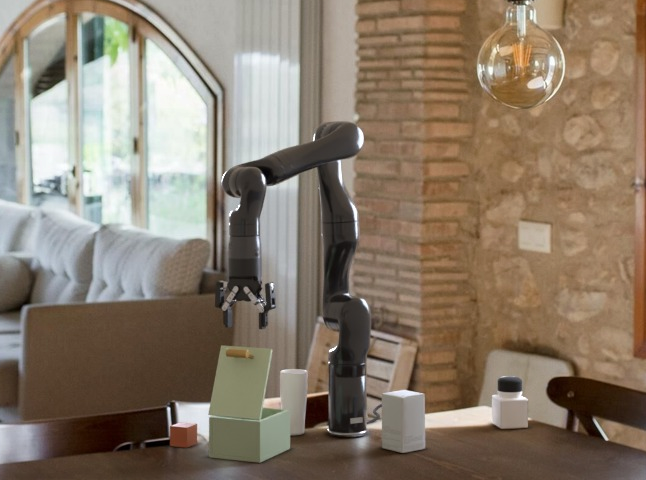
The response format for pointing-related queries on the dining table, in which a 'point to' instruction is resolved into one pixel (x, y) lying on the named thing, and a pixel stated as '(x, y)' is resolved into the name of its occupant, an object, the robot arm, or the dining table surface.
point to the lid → (240, 382)
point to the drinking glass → (294, 397)
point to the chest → (250, 436)
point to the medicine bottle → (509, 404)
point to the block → (183, 435)
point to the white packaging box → (403, 421)
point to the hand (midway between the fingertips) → (245, 328)
